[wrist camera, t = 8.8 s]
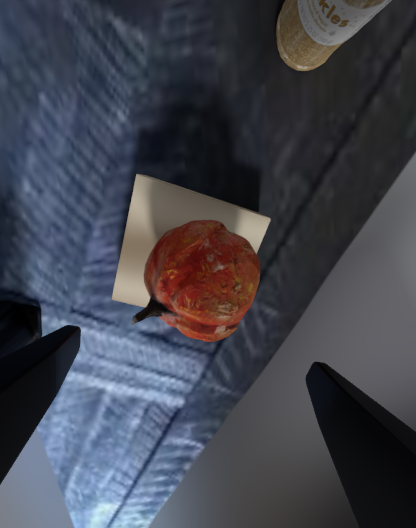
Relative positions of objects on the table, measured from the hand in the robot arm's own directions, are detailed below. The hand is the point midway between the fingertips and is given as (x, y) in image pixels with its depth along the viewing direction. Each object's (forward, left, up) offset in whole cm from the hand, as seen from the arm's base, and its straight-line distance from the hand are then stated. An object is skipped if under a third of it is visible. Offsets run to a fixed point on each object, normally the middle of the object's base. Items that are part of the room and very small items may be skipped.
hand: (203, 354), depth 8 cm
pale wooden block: (0, +1, -14) cm, 14 cm away
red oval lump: (0, 0, -10) cm, 10 cm away
